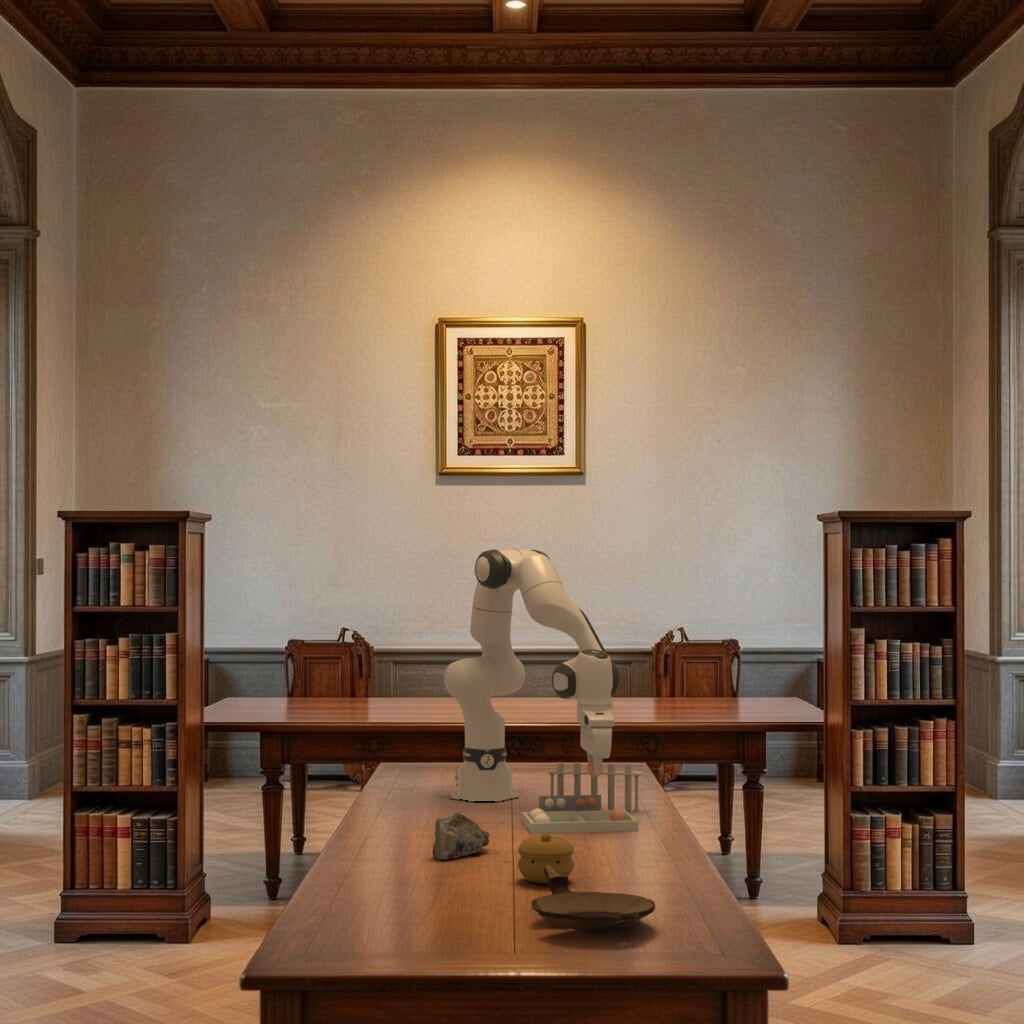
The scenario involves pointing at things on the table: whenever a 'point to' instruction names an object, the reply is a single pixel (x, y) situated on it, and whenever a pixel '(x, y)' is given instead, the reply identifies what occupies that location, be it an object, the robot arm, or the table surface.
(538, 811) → the ivory ball
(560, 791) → the test tube rack
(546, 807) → the card
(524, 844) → the pot
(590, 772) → the terracotta ball
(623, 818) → the terracotta ball
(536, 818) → the ivory ball
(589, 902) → the frying pan
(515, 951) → the table surface
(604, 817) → the twin dish
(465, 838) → the mineral rock
